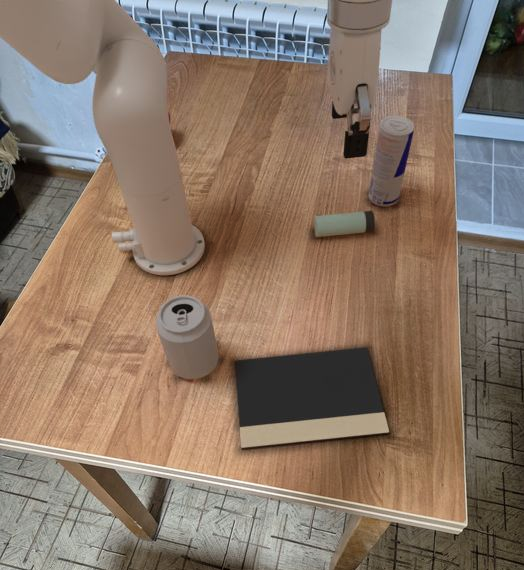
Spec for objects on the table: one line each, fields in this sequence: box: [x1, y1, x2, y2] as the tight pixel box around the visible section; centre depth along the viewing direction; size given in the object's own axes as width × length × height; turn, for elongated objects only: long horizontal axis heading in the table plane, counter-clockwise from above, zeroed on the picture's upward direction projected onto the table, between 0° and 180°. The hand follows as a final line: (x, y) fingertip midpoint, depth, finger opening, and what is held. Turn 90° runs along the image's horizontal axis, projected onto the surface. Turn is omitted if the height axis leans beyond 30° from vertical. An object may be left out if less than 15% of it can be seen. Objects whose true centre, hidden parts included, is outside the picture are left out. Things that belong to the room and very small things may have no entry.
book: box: [234, 346, 390, 450], centre depth 73 cm, size 20×14×1 cm
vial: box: [313, 210, 376, 238], centre depth 90 cm, size 10×4×4 cm, turn 95°
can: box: [155, 294, 220, 380], centre depth 72 cm, size 8×8×12 cm
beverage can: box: [368, 115, 415, 208], centre depth 89 cm, size 6×6×15 cm
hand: (348, 136), depth 75 cm, fingers open, 9 cm apart
